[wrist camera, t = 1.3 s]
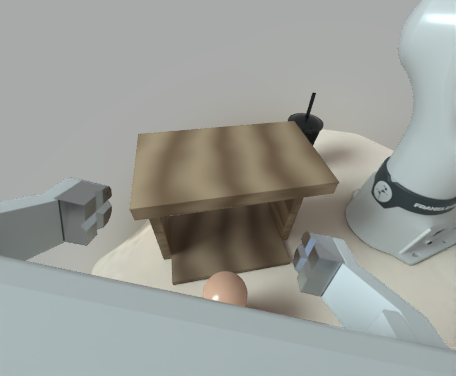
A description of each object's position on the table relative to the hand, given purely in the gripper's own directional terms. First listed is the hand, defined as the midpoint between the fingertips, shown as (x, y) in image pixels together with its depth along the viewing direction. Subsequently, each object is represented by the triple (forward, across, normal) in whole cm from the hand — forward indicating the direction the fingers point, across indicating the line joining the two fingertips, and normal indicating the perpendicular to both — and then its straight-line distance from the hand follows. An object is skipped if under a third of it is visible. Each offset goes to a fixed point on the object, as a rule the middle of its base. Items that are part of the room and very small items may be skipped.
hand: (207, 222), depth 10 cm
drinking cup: (+50, -18, +14) cm, 55 cm away
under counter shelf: (+28, -4, +24) cm, 37 cm away
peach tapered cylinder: (+15, -6, +28) cm, 33 cm away
